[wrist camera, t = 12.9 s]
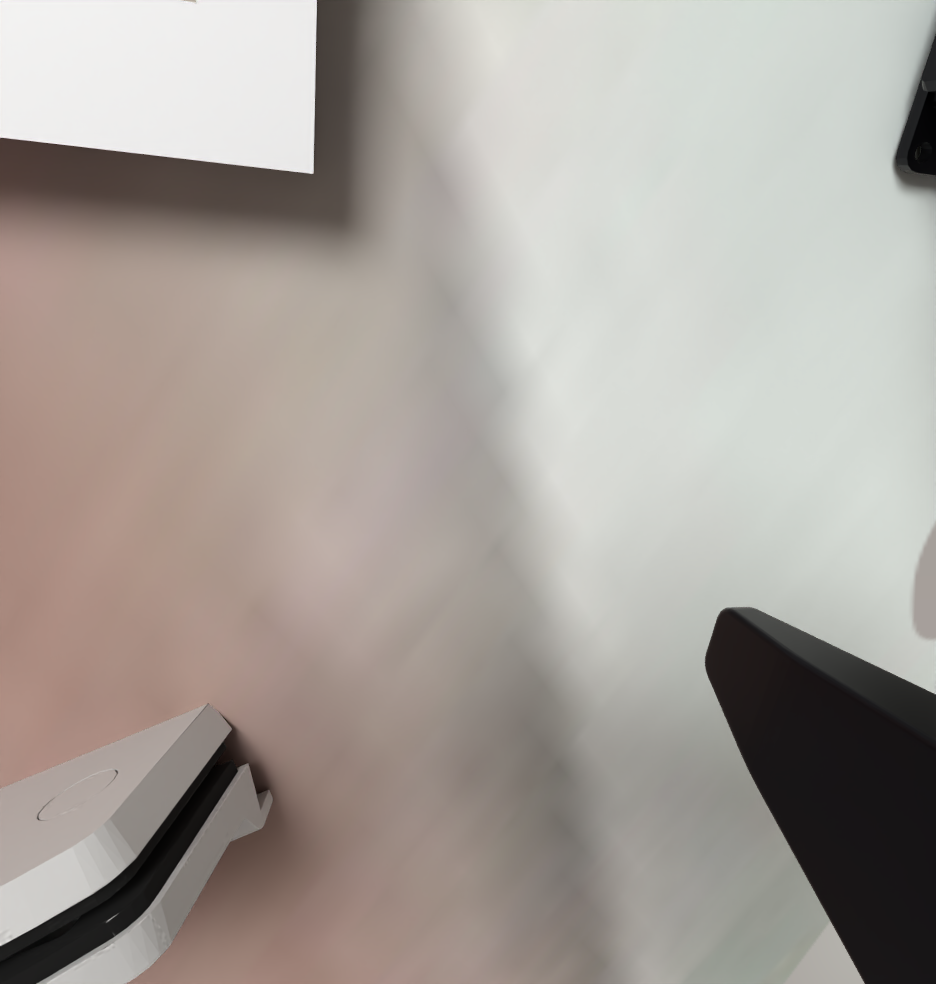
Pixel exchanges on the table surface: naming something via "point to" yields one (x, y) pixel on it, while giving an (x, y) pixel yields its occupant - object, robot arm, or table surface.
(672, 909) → the table surface
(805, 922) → the table surface
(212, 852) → the white curved block
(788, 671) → the robot arm
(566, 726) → the table surface
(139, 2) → the socket plate
